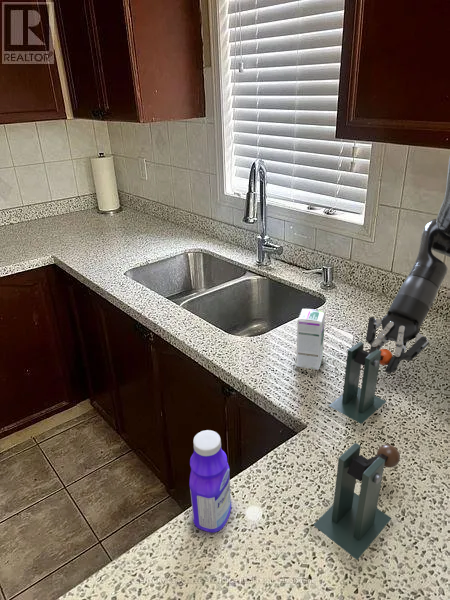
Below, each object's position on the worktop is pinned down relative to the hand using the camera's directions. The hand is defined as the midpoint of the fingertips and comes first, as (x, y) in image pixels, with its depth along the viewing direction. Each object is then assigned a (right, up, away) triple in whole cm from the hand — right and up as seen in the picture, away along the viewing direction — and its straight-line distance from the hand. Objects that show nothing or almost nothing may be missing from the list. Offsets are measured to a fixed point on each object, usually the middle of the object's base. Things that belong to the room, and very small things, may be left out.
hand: (378, 368), depth 98 cm
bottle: (-36, -21, -24) cm, 48 cm away
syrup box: (-13, -2, +13) cm, 18 cm away
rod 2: (-11, -12, -28) cm, 32 cm away
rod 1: (-2, +1, -3) cm, 4 cm away
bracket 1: (-5, -8, -1) cm, 10 cm away
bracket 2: (-13, -21, -26) cm, 36 cm away
